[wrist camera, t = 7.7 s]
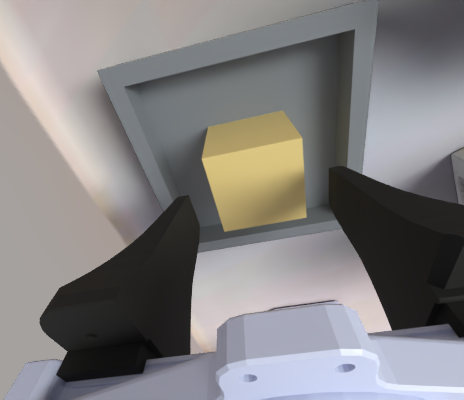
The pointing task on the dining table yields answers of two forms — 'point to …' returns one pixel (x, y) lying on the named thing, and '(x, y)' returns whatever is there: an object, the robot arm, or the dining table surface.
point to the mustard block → (256, 171)
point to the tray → (252, 109)
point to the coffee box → (459, 173)
